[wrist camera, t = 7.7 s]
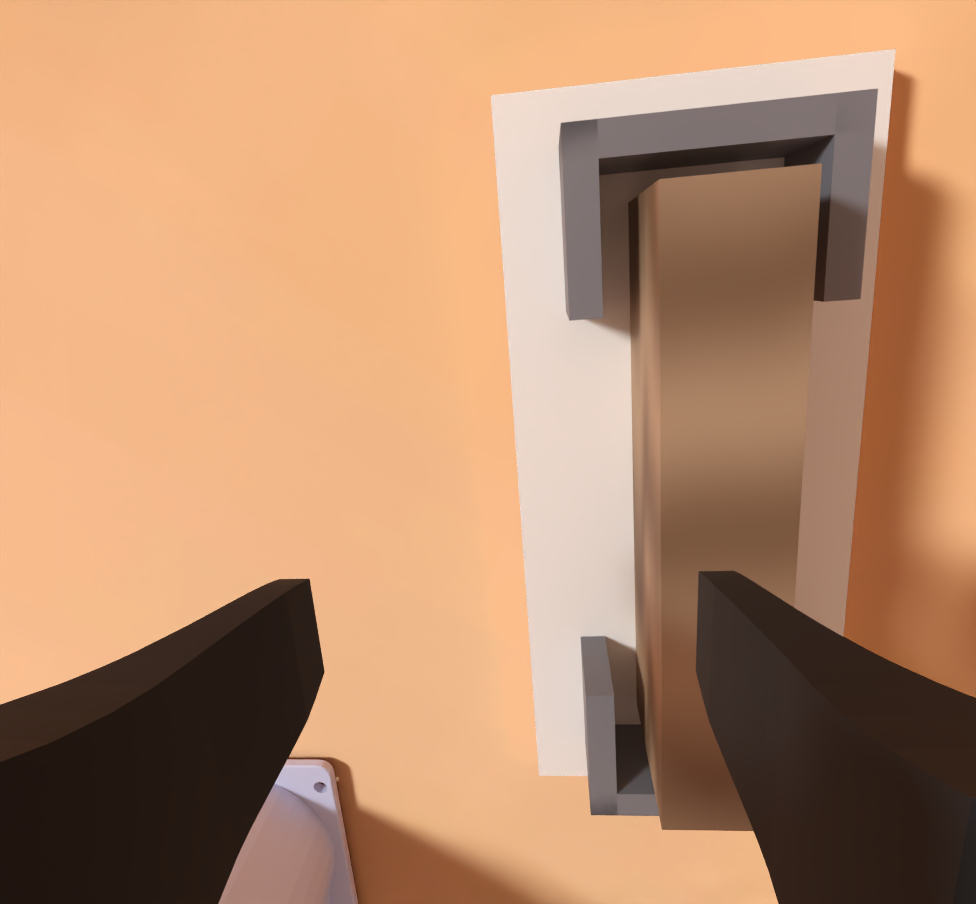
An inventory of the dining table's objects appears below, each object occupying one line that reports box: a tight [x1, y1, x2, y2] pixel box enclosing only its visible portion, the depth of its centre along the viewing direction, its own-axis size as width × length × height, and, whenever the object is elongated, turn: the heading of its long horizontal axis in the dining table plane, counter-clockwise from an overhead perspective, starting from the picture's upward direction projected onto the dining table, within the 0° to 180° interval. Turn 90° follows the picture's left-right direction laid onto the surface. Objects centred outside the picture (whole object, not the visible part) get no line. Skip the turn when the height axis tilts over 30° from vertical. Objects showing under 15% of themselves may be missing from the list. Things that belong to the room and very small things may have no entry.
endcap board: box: [491, 49, 896, 816], centre depth 18 cm, size 22×10×4 cm, turn 4°
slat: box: [628, 163, 822, 831], centre depth 17 cm, size 16×3×5 cm, turn 4°
